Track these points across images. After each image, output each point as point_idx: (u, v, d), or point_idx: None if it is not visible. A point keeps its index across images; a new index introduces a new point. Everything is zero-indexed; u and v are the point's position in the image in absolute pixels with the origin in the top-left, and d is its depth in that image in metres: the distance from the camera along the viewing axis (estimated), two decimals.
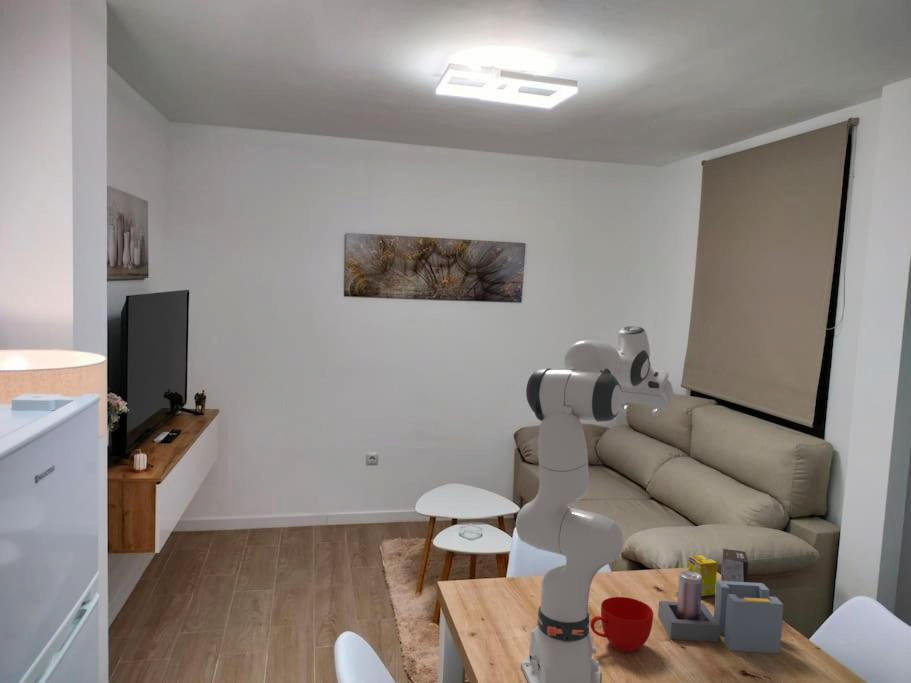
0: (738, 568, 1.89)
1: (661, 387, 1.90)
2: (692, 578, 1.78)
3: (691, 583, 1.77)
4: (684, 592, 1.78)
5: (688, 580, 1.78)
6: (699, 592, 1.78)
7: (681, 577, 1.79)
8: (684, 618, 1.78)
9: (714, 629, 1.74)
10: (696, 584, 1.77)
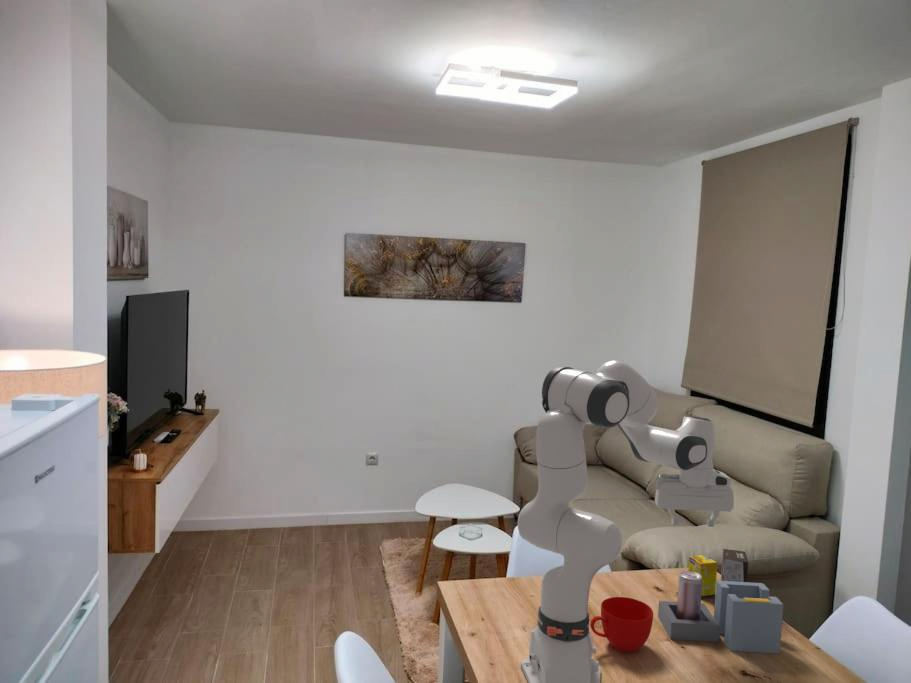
0: (738, 568, 1.89)
1: (729, 483, 1.76)
2: (692, 578, 1.78)
3: (691, 583, 1.77)
4: (684, 592, 1.78)
5: (688, 580, 1.78)
6: (700, 592, 1.78)
7: (681, 577, 1.79)
8: (684, 618, 1.78)
9: (714, 629, 1.74)
10: (696, 584, 1.77)
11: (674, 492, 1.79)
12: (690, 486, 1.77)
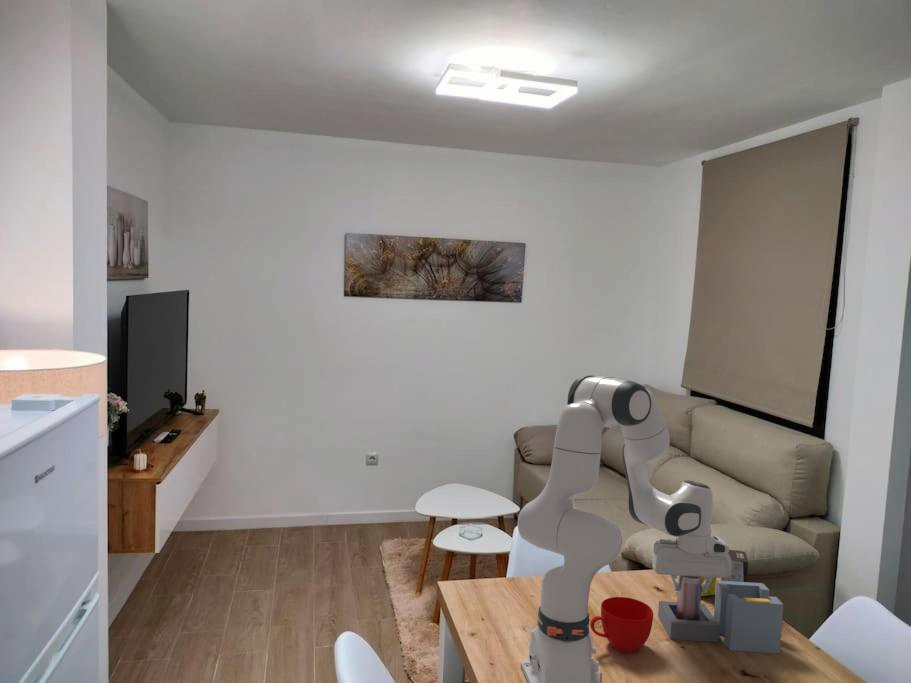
0: (738, 568, 1.89)
1: (727, 551, 1.76)
2: (691, 578, 1.78)
3: (691, 583, 1.77)
4: (683, 591, 1.78)
5: (687, 580, 1.78)
6: (699, 592, 1.78)
7: (680, 577, 1.80)
8: (684, 618, 1.78)
9: (714, 629, 1.74)
10: (696, 584, 1.77)
11: (672, 557, 1.78)
12: (688, 552, 1.77)
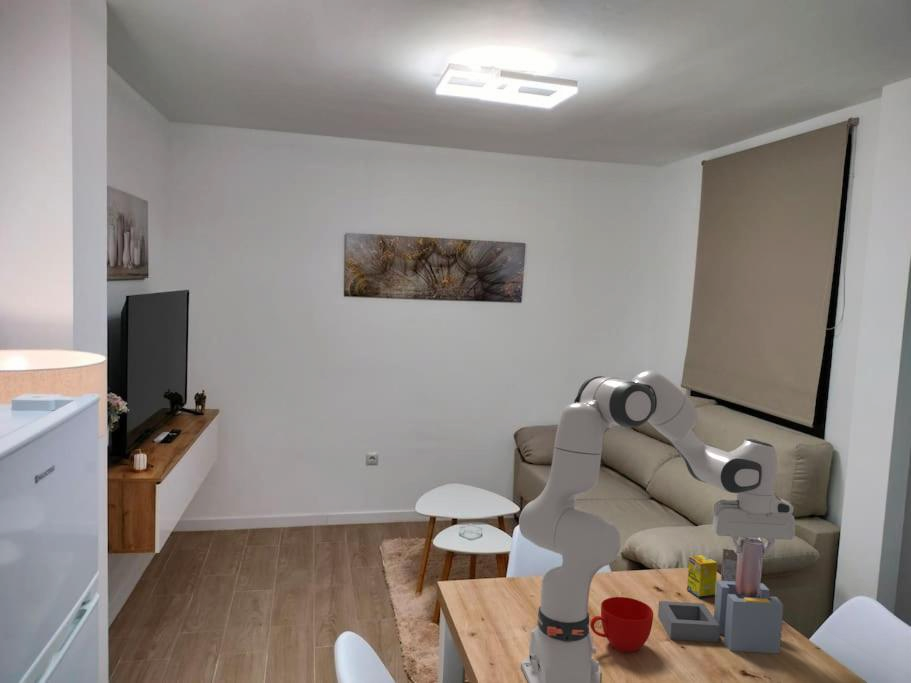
0: None
1: (791, 511, 1.71)
2: (753, 542, 1.73)
3: (752, 547, 1.72)
4: (744, 555, 1.73)
5: (749, 544, 1.72)
6: (761, 556, 1.73)
7: (741, 541, 1.74)
8: (744, 583, 1.73)
9: (714, 629, 1.74)
10: (758, 548, 1.72)
11: (733, 518, 1.73)
12: (751, 513, 1.72)
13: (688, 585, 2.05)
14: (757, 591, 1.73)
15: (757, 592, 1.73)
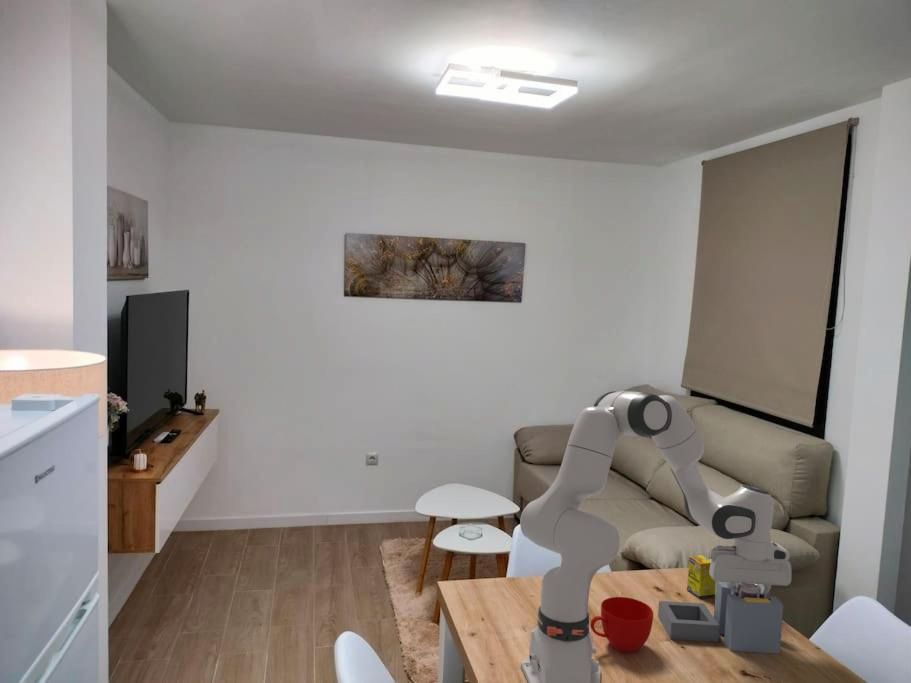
0: None
1: (787, 557, 1.72)
2: (750, 587, 1.74)
3: (749, 593, 1.73)
4: None
5: (746, 589, 1.73)
6: None
7: (738, 586, 1.75)
8: None
9: (714, 629, 1.74)
10: (754, 593, 1.73)
11: (730, 564, 1.74)
12: (747, 559, 1.73)
13: (688, 585, 2.05)
14: None
15: None
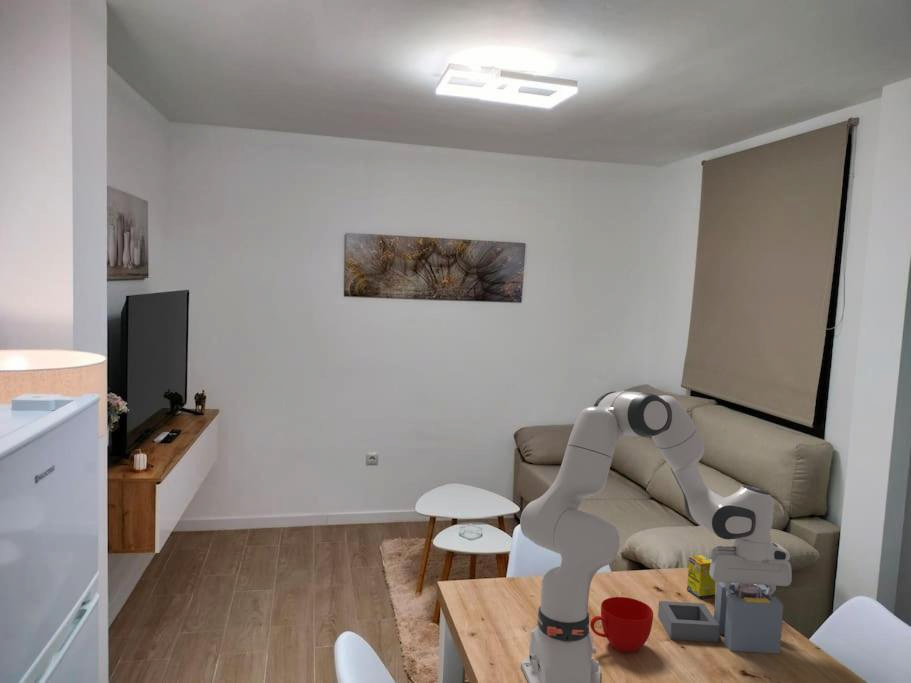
0: None
1: (788, 558, 1.71)
2: (749, 587, 1.74)
3: (748, 592, 1.73)
4: None
5: (745, 589, 1.74)
6: None
7: (737, 586, 1.75)
8: None
9: (714, 629, 1.74)
10: (753, 593, 1.73)
11: (730, 565, 1.74)
12: (747, 560, 1.73)
13: (688, 585, 2.05)
14: None
15: None
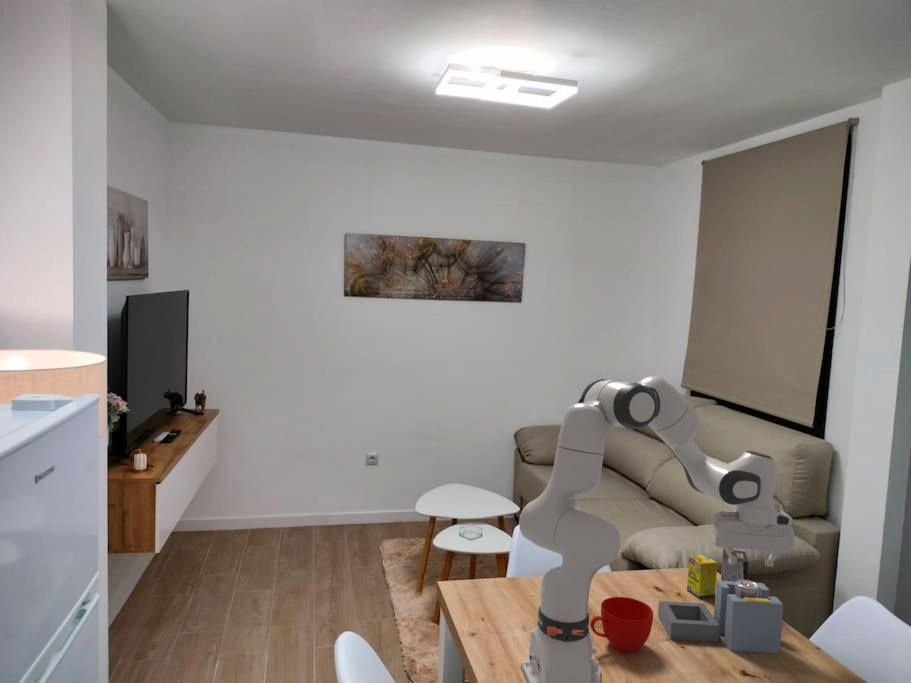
0: (738, 568, 1.89)
1: (791, 523, 1.71)
2: (749, 587, 1.74)
3: (748, 592, 1.73)
4: None
5: (745, 589, 1.74)
6: None
7: (737, 586, 1.75)
8: None
9: (714, 629, 1.74)
10: (753, 593, 1.73)
11: (733, 530, 1.73)
12: (750, 525, 1.72)
13: (688, 585, 2.05)
14: None
15: None
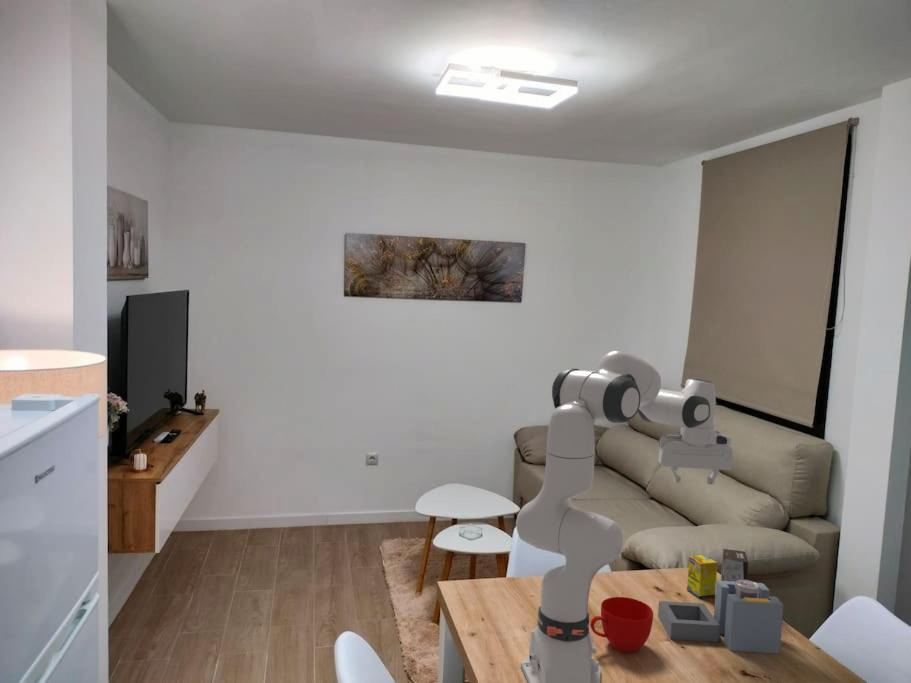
0: (738, 568, 1.89)
1: (729, 443, 1.86)
2: (749, 587, 1.74)
3: (748, 592, 1.73)
4: None
5: (745, 589, 1.74)
6: None
7: (737, 586, 1.75)
8: None
9: (714, 629, 1.74)
10: (753, 593, 1.73)
11: (676, 450, 1.88)
12: (692, 445, 1.87)
13: (688, 585, 2.05)
14: None
15: None
